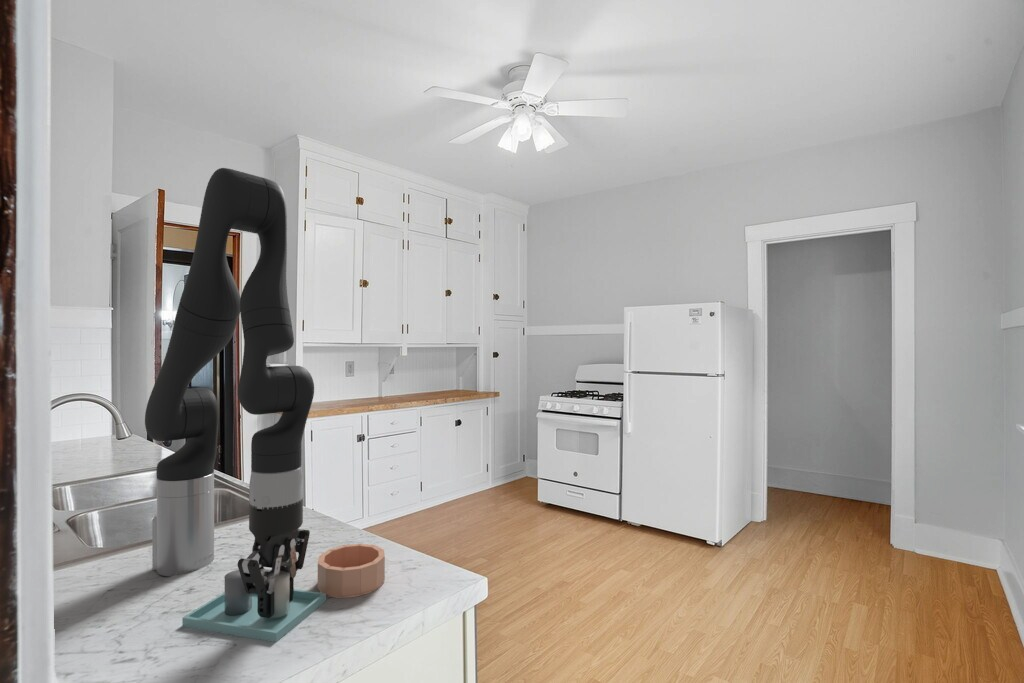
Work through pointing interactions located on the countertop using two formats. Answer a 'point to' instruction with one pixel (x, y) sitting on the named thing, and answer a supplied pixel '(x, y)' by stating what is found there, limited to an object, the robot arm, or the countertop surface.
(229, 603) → the grey rounded cylinder
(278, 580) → the beige rounded cylinder
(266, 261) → the robot arm
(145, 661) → the countertop surface
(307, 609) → the tray
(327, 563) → the bowl
